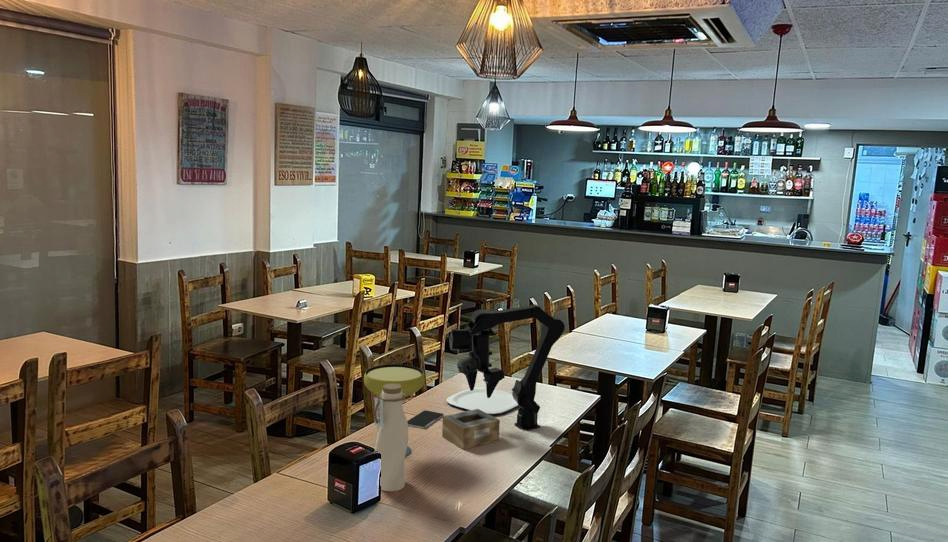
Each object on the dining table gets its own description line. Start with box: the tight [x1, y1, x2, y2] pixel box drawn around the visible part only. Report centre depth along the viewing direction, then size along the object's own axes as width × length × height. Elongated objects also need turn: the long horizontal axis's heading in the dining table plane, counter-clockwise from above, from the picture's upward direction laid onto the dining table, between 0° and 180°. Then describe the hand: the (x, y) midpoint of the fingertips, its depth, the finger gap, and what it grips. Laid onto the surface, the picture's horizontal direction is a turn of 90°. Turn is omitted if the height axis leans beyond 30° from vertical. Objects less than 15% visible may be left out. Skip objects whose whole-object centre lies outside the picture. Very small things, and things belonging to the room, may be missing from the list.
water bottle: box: [373, 384, 409, 492], centre depth 182 cm, size 10×9×28 cm
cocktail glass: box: [363, 363, 425, 457], centre depth 205 cm, size 18×18×25 cm
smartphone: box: [407, 409, 445, 430], centre depth 234 cm, size 8×1×15 cm
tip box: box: [441, 409, 501, 450], centre depth 218 cm, size 14×12×7 cm
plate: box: [445, 386, 520, 415], centre depth 254 cm, size 25×25×2 cm
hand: (480, 394), depth 225 cm, fingers open, 9 cm apart
